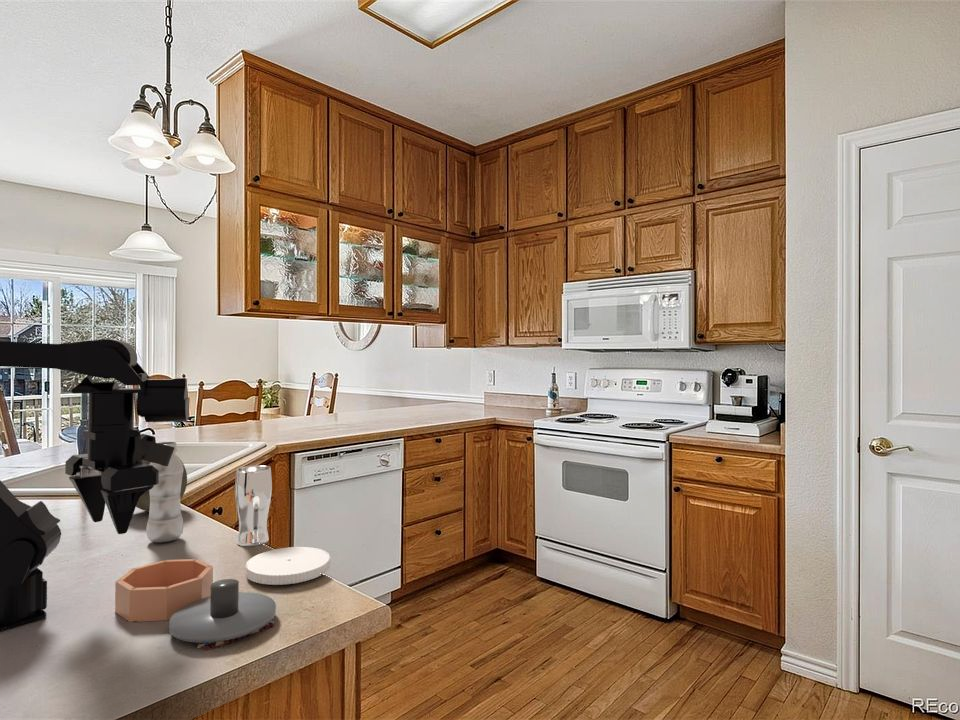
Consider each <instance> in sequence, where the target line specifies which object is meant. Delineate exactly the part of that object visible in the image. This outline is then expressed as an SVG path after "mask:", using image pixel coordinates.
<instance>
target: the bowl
mask: <svg viewBox="0 0 960 720" xmlns="http://www.w3.org/2000/svg"><path fill="white" fill-rule="evenodd" d="M212 583H214V565H211V564H209V563H208V562H205V561H203V560H201V559H198V558H191V559H189V558H187V559H185V558H183V559H182V558H181V559H164V560H161V561H157V562H152V563H149V564H144V565H142V566H138V567H134V568H131V569H130V570H128V571H127V572H126V573H125V574H123V575H122V576H121V577H119V578H118V579H117V580H116V581H115V591H114V592H115V593H114V594H115V599H114V613H116V614H118V615H119V616H120V617H121V618H123V619H124V620H126V621H127V620H128V621H127V622H129V623H134V622H133V621H138V622H157V621H168V620H169V621H170V618H171V617H172V615H173V614H174V613H175V612H176V611H178V610H179V609H181V608H182V607H184V606H186V605H188V604H190V603H192V602H194V601H197V600H200V599H203V598H206V597H210V596H211V584H212Z"/></svg>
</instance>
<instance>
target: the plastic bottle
mask: <svg viewBox="0 0 960 720" xmlns="http://www.w3.org/2000/svg"><path fill="white" fill-rule="evenodd" d="M158 443H159V444H163V445H167V446H171V447H175V449H174V451H173V454H172V456H171V459H170V462H169V464H168V466H162V465H160V464H156V463H152V462H150V464H149V465H152V466H153V467H155V468H156V469H157V470H158V471H159V484H157V485H154V487H153V488H152V489H151V490H149V492H150V510H149V513H148V519H147V524H146V529H145V532H146V537H147V539H148V540H149V541H150V542H151V543H167V542H171V541H175V540H178V539H179V538H181V536H182V535H183V532H184V519H183V516H182V507H181V500H180V493H181V483H182V476H183V464H184V463H183V461H182V460H181V458H180V457H179V456H177V455H176V452H177V451H178V449H177V441H160V442H158ZM180 460H181V461H182V462H181V461H180ZM182 463H183V464H182Z"/></svg>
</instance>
